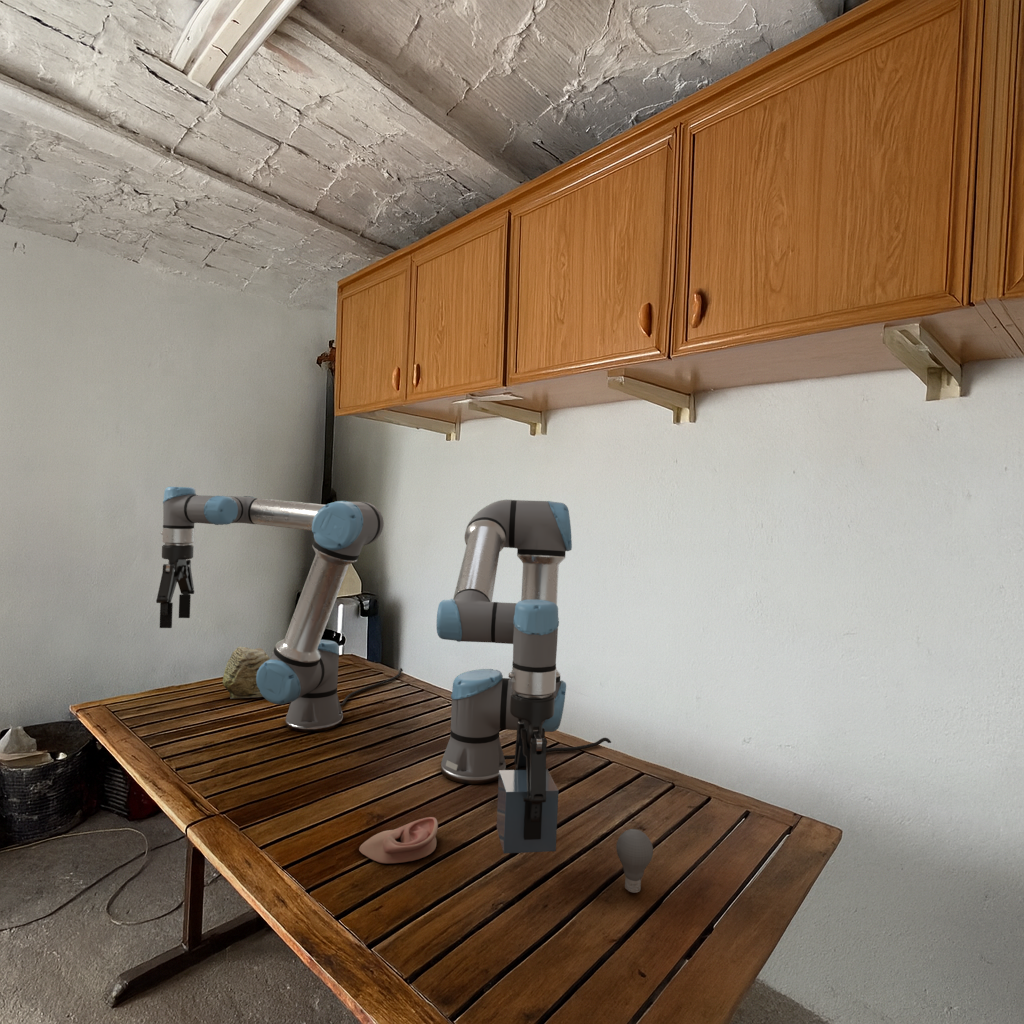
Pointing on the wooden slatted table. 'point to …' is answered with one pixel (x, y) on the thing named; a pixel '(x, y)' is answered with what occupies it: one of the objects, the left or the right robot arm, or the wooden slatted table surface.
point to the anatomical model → (403, 842)
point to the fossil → (244, 672)
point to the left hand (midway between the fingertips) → (175, 622)
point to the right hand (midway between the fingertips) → (527, 824)
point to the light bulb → (634, 857)
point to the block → (513, 814)
